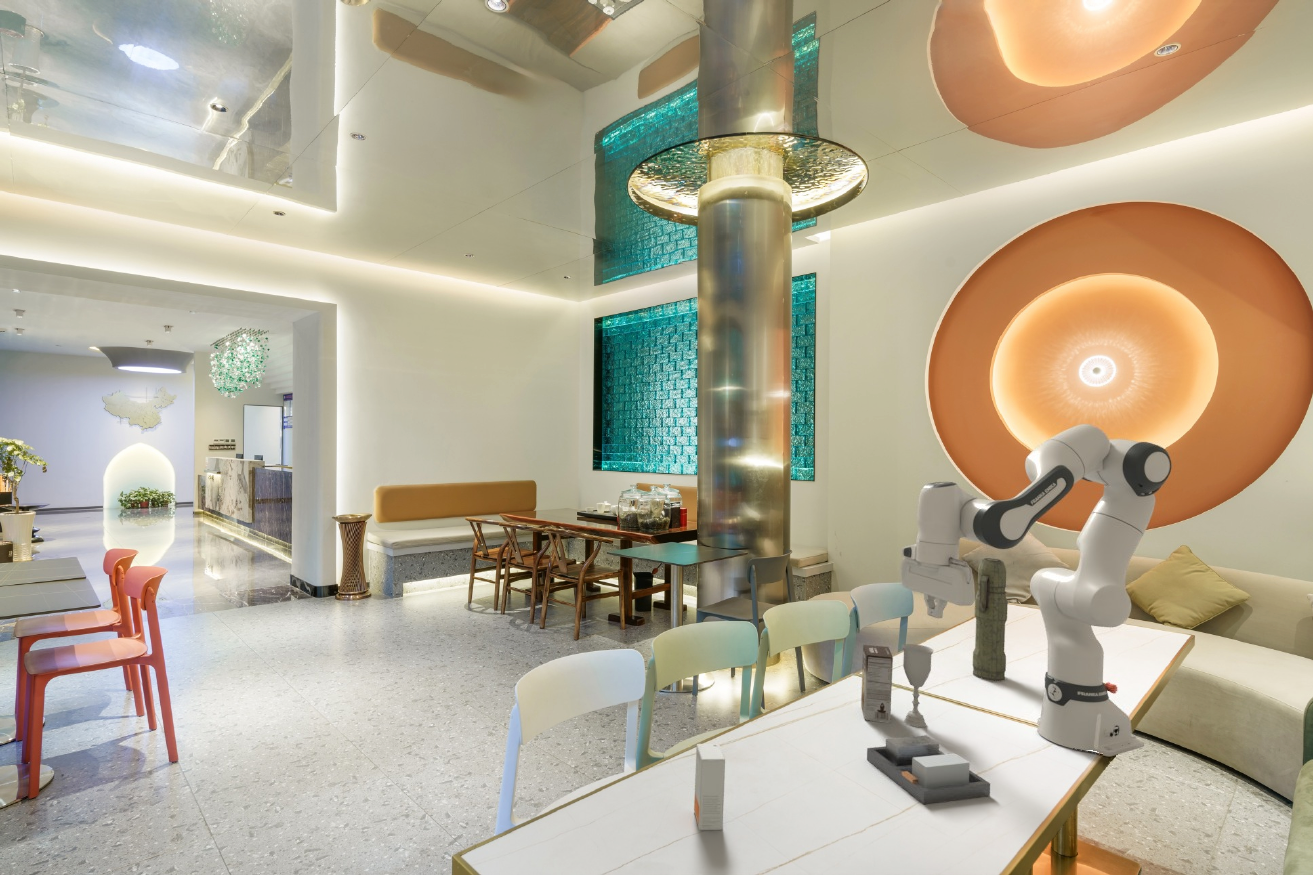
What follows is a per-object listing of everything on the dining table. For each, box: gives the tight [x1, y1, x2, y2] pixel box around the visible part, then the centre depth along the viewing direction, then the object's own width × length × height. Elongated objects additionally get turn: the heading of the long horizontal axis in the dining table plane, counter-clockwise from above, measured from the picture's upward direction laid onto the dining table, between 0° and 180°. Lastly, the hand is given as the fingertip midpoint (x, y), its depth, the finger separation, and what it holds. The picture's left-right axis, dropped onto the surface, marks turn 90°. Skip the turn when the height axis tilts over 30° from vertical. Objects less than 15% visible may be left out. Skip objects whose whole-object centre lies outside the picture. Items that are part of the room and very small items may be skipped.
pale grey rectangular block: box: [912, 753, 970, 788], centre depth 129 cm, size 10×4×4 cm, turn 106°
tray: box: [866, 734, 991, 805], centre depth 133 cm, size 15×18×5 cm
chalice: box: [901, 643, 935, 728], centre depth 161 cm, size 7×7×18 cm
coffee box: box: [860, 644, 894, 724], centre depth 164 cm, size 9×6×16 cm
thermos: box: [972, 557, 1009, 682], centre depth 199 cm, size 9×12×35 cm
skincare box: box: [693, 743, 726, 831], centre depth 114 cm, size 6×4×12 cm
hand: (934, 616), depth 147 cm, fingers closed
